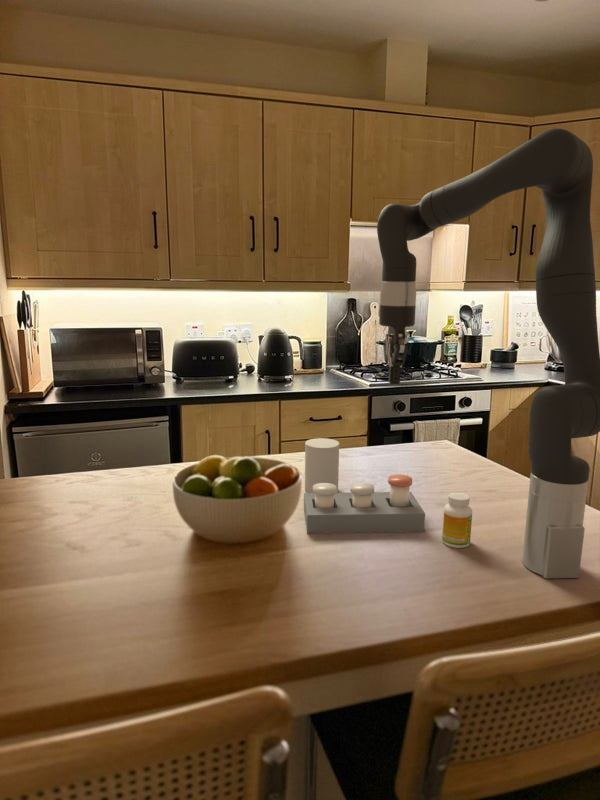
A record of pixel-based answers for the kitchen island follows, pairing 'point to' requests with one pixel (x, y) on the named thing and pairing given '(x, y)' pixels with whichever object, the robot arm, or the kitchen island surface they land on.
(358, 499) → the mid plunger
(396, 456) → the kitchen island surface
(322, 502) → the far plunger
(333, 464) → the white cylinder
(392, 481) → the red plunger
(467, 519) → the supplement bottle
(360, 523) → the panel
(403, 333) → the robot arm
